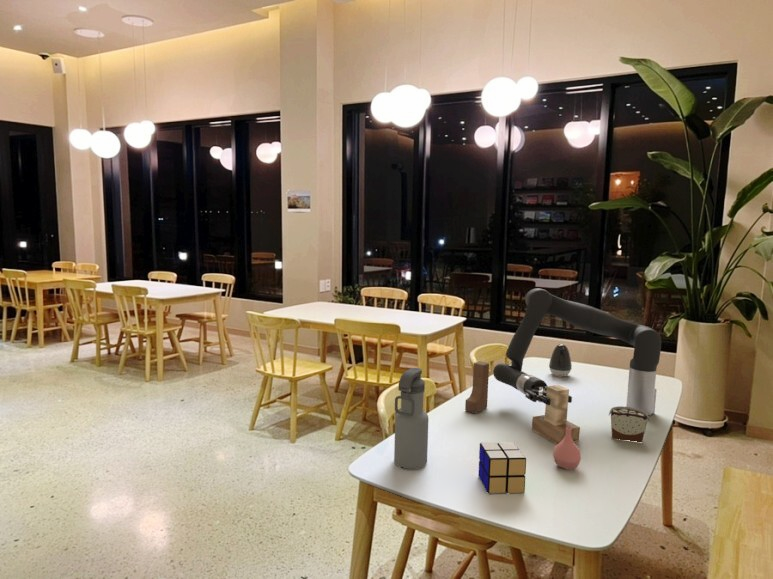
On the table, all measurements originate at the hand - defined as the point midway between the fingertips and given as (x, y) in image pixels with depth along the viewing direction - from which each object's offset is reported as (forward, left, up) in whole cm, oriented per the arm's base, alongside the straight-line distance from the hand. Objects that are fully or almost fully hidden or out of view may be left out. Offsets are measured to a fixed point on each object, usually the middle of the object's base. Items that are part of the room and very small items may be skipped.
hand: (560, 401), depth 170 cm
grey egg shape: (-48, -61, -13) cm, 78 cm away
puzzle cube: (+36, +22, -13) cm, 44 cm away
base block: (0, -2, -13) cm, 13 cm away
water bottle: (+55, +3, -13) cm, 57 cm away
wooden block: (+14, -31, -13) cm, 36 cm away
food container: (-22, +7, -13) cm, 26 cm away
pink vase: (+12, +19, -13) cm, 26 cm away
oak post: (0, -2, -8) cm, 8 cm away
